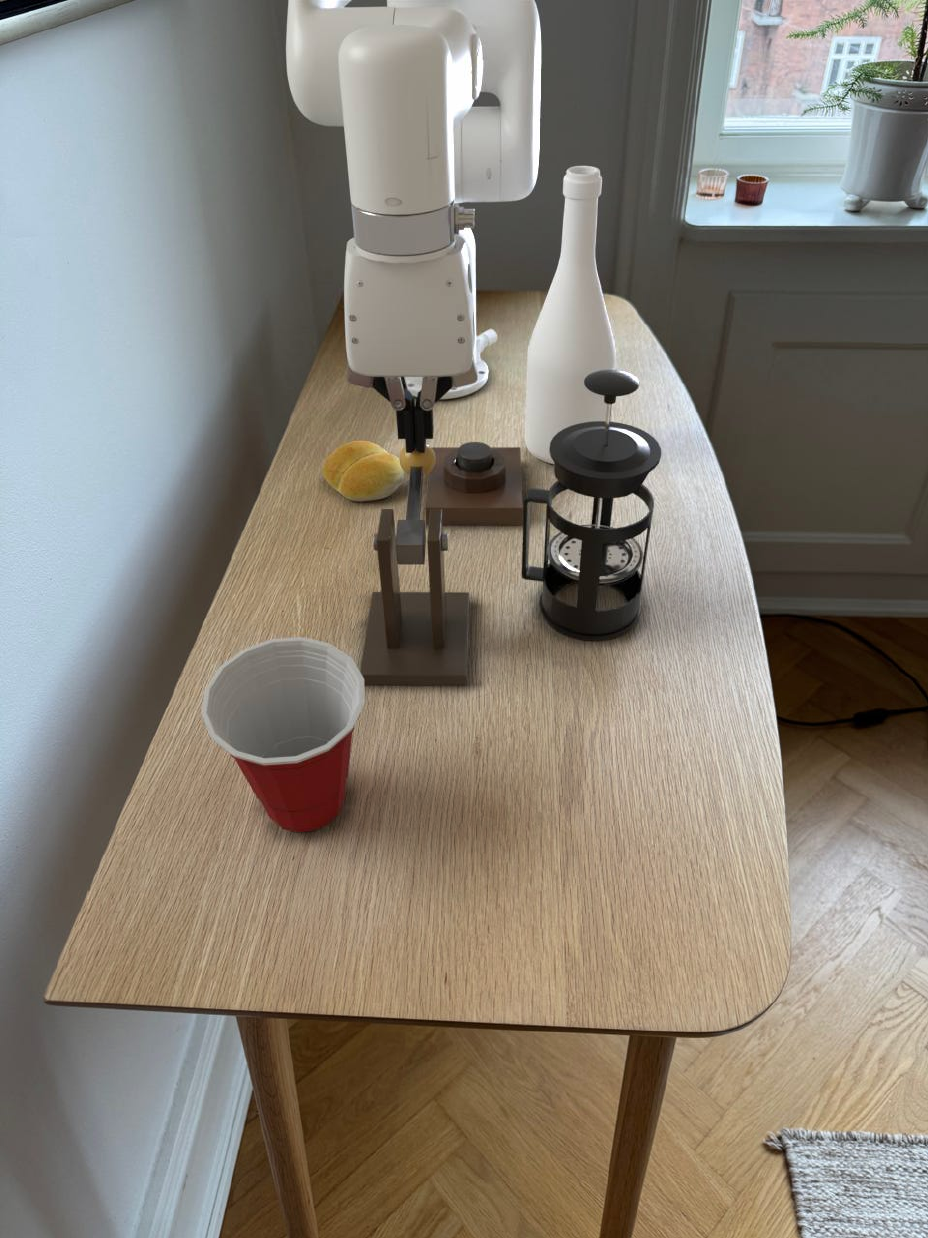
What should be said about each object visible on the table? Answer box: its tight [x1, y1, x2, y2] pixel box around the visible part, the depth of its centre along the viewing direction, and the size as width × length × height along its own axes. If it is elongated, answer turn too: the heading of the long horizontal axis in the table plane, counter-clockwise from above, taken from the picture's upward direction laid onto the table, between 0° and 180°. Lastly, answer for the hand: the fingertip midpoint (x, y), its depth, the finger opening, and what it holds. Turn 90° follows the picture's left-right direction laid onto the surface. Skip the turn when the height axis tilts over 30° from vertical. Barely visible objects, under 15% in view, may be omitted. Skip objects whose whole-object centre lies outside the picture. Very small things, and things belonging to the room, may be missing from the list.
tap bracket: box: [359, 508, 470, 686], centre depth 77 cm, size 11×9×13 cm
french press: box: [521, 369, 662, 642], centre depth 77 cm, size 12×9×23 cm
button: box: [458, 441, 492, 472], centre depth 96 cm, size 4×4×2 cm
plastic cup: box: [200, 636, 365, 833], centre depth 64 cm, size 11×11×12 cm
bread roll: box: [322, 440, 405, 502], centre depth 100 cm, size 8×9×4 cm
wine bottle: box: [524, 165, 617, 465], centre depth 96 cm, size 10×10×30 cm
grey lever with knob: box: [395, 442, 436, 566], centre depth 78 cm, size 13×3×3 cm, turn 179°
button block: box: [424, 446, 524, 526], centre depth 98 cm, size 12×10×4 cm
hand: (416, 444), depth 79 cm, fingers closed
